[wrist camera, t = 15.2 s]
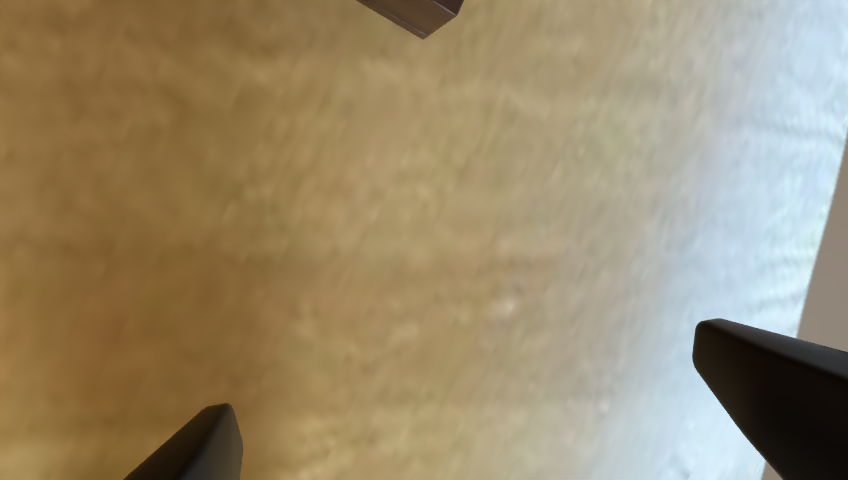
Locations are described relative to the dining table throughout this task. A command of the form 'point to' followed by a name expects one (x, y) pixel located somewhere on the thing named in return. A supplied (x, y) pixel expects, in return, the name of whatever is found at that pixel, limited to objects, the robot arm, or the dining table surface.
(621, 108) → the dining table surface
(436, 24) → the tray
